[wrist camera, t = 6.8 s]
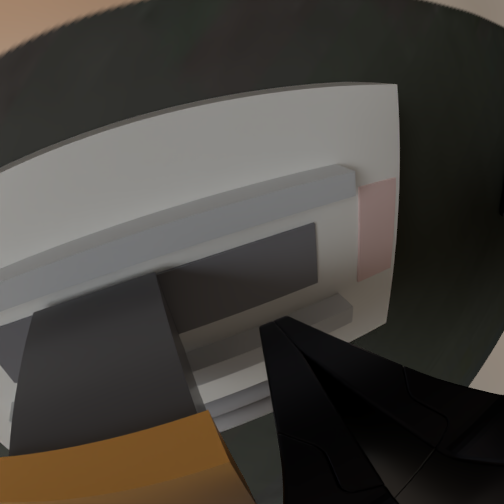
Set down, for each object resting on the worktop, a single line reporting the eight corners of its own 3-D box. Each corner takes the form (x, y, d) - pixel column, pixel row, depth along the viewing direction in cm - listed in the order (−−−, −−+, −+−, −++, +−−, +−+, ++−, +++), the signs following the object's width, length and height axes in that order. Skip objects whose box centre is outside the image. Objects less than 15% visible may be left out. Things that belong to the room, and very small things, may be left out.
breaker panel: (346, 81, 12) (417, 86, 9) (351, 292, 17) (398, 334, 14) (-100, 226, 7) (-147, 273, 4) (14, 406, 12) (9, 466, 9)
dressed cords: (332, 336, 19) (345, 351, 17) (330, 369, 20) (342, 383, 19) (58, 430, 14) (58, 449, 13) (84, 454, 16) (86, 472, 15)
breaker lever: (159, 263, 9) (230, 461, 4) (190, 348, 10) (260, 510, 6) (24, 309, 8) (-6, 502, 3) (75, 383, 9) (91, 547, 4)
